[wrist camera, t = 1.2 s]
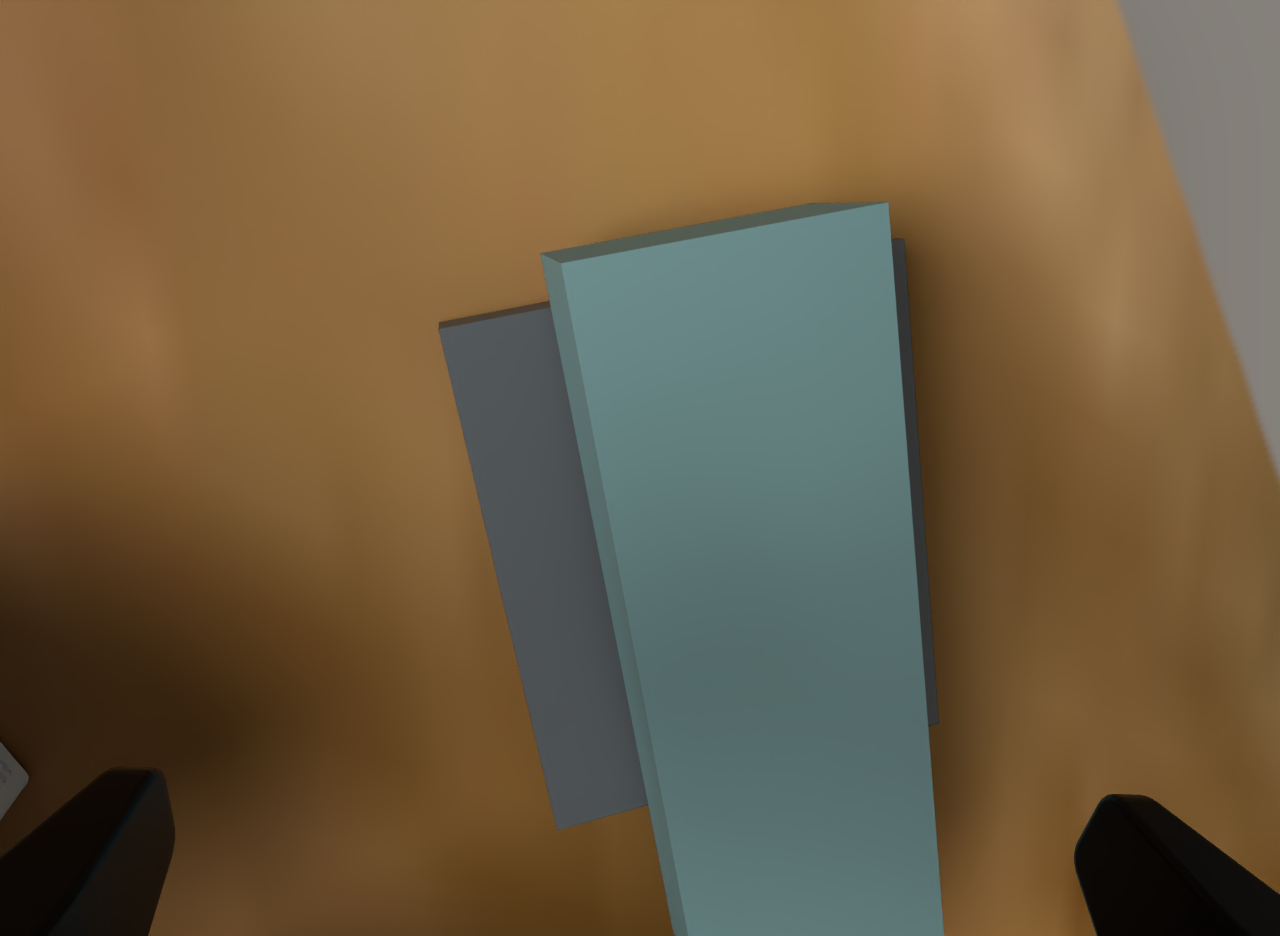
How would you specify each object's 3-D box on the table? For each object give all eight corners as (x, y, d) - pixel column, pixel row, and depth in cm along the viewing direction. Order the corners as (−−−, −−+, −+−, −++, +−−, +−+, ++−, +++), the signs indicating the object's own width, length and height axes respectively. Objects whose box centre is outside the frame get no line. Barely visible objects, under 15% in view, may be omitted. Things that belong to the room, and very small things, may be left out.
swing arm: (687, 1005, 21) (725, 1131, 18) (539, 253, 15) (560, 263, 13) (886, 943, 21) (953, 1054, 19) (811, 203, 16) (887, 202, 13)
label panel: (552, 801, 20) (558, 835, 19) (439, 322, 17) (438, 330, 16) (917, 700, 22) (942, 726, 20) (880, 236, 18) (908, 238, 17)
